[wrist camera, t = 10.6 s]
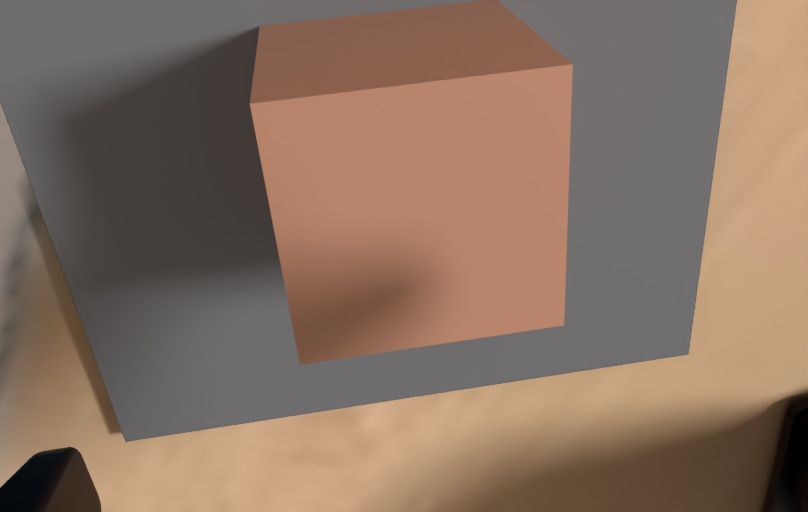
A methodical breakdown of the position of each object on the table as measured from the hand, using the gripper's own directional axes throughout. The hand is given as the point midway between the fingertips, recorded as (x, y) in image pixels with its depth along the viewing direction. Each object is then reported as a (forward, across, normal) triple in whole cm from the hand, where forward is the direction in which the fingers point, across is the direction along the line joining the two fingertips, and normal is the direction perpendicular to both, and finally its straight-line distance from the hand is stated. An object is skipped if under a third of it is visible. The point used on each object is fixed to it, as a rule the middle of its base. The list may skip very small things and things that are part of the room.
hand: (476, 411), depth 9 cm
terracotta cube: (+10, 0, 0) cm, 10 cm away
